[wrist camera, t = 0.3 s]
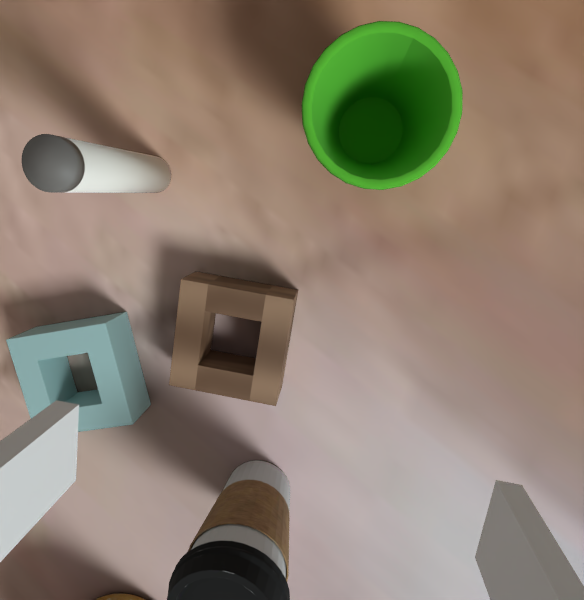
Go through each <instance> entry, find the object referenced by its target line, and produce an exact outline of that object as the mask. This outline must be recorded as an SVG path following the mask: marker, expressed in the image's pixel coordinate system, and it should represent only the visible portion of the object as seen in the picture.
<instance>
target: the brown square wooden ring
mask: <svg viewBox="0 0 584 600" xmlns="http://www.w3.org/2000/svg"><path fill="white" fill-rule="evenodd" d="M297 294H298V290H296V289H290V288H285V287H279V286H274V285H268V284H263V283H257V282H252V281H246V280H241V279H235V278H229V277H224V276H218V275H213V274H207V273H202V272H194V273H192V274H190V275H188V276H186V277H184V278H183V279H181V283H180V292H179V301H178V310H177V319H176V328H175V337H174V346H173V355H172V363H171V372H170V381H169V385H171V386H176V387H181V388H187V389H192V390H197V391H202V392H207V393H212V394H217V395H222V396H227V397H232V398H238V399H243V400H248V401H253V402H258V403H263V404H268V405H273V406H276V404H277V401H278V397H279V394H280V391H281V388H282V383H283V377H284V371H285V365H286V359H287V353H288V347H289V341H290V335H291V329H292V324H293V318H294V312H295V306H296V300H297ZM216 313H217V314H223V315H228V316H233V317H239V318H244V319H250V320H255V321H260V322H262V323H261V329H260V336H259V342H258V349H257V355H256V358H251V357H246V356H240V355H235V354H230V353H225V352H219V351H214V350H211V346H212V338H213V330H214V323H215V315H216Z"/></svg>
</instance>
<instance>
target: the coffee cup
mask: <svg viewBox="0 0 584 600" xmlns="http://www.w3.org/2000/svg"><path fill="white" fill-rule="evenodd" d="M289 506H290V486H289V482H288V480H287V478H286V476H285V475H284V473H283V472H282V471H281V470H280V469H279V468H278V467H276V466H275V465H273V464H271V463H268V462H265V461H256V460H255V461H249V462H246V463H243V464H242V465H240V466H238V467H237V468H236V469H235V470H234V471H233V473H232V474H231V476H230V478H229V479H228V481H227V483H226V485H225V487H224V489H223V491H222V493H221V494H220V495H219V497H218V499H217V501H216V502H215V504H214V506H213V507H212V509H211V511H210V512H209V514H208V516H207V518H206V519H205V521H204V523H203V524H202V526H201V528H200V530H199V531H198V533H197V535H196V536H195V538H194V540H193V542H192V543H191V545H190V548H189V550H188V552H187V553H186V554H185V555H184V556H183V557H182V558H181V559H180V561H179V562H178V564H177V565H176V567H175V570H174V572H173V573H172V576H171V579H170V582H169V590H168V597H167V600H290V594H289V588H288V584H287V579H288V564H289Z"/></svg>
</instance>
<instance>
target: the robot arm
mask: <svg viewBox="0 0 584 600" xmlns="http://www.w3.org/2000/svg"><path fill="white" fill-rule="evenodd" d="M78 418H79V404H74V403H68V402H63V401H57V400H56V401H55V402H53V403H52V404H50V405H49V406H48V407H46V408H45V409H44V410H42V411H41V412H40V413H38V414H37V415H35V416H34V417H33V418H31V419H30V420H29V421H27V422H26V423H24V424H23V425H22V426H20V427H19V428H18V429H16V430H15V431H14V432H12V433H11V434H9V435H8V436H7V437H5V438H4V439H3V440H1V441H0V562H1V561H2V560H3V559H4V558H5V557H6V556H7V554H8V553H9V552H10V551H11V550H12V549H13V548H14V547H15V546H16V545H17V544H18V543H19V541H20V540H21V539H22V538H23V537H24V536H25V535H26V534H27V533H28V532H29V531H30V529H31V528H32V527H33V526H34V525H35V524H36V523H37V522H38V521H39V520H40V519H41V518H42V516H43V515H44V514H45V513H46V512H47V511H48V510H49V509H50V508H51V507H52V506H53V505H54V503H55V502H56V501H57V500H58V499H59V498H60V497H61V496H62V495H63V494H64V493H65V492H66V490H67V489H68V488H69V487H70V486H71V485H72V484H73V483H74V482H75V481H76V465H77V441H78ZM475 558H476V561H477V564H478V567H479V569H480V572H481V575H482V578H483V580H484V583H485V586H486V589H487V591H488V594H489V597H490V600H584V586H583V584H582V583H581V581H580V579H579V578H578V576H577V575H576V573H575V571H574V570H573V568H572V566H571V565H570V563H569V561H568V560H567V558H566V557H565V555H564V553H563V552H562V550H561V548H560V547H559V545H558V543H557V542H556V540H555V539H554V537H553V535H552V534H551V532H550V530H549V529H548V527H547V525H546V524H545V522H544V520H543V519H542V517H541V516H540V514H539V512H538V511H537V509H536V507H535V506H534V504H533V502H532V501H531V499H530V498H529V496H528V494H527V493H526V491H525V489H524V488H523V486H522V485H519V484H514V483H508V482H503V481H497V480H496V482H495V486H494V489H493V493H492V497H491V500H490V504H489V508H488V512H487V515H486V519H485V523H484V526H483V530H482V534H481V537H480V541H479V545H478V548H477V552H476V556H475Z"/></svg>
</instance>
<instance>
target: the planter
mask: <svg viewBox="0 0 584 600" xmlns="http://www.w3.org/2000/svg"><path fill="white" fill-rule="evenodd" d="M96 600H146V599H143V598H141V597H138V596H135V595H131V594H120V593H118V594H110V595H106V596H102V597H100V598H98V599H96Z"/></svg>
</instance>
